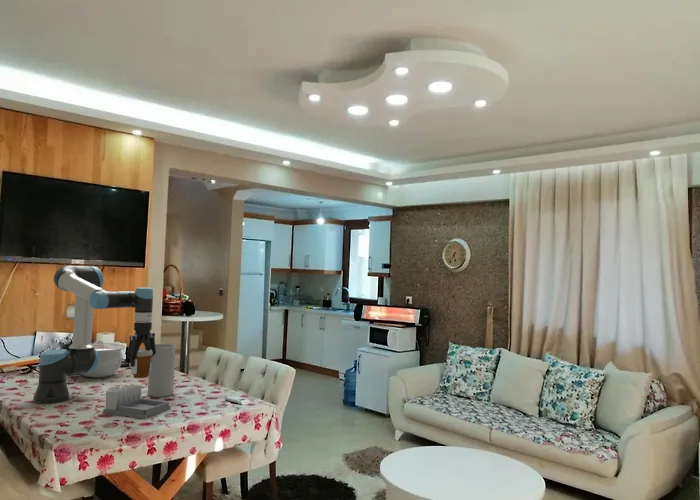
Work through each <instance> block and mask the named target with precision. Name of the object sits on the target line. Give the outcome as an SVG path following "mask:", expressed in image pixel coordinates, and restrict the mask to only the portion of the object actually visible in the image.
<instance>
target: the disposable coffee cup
mask: <svg viewBox="0 0 700 500" xmlns="http://www.w3.org/2000/svg"><path fill="white" fill-rule="evenodd" d="M152 354H153V352H152V350H146V349H145V348H139V351H138V352H137V356H136V359H137V374H132V376H133V378H134V379H146V378H148V375H149V369H150V363H151V357H152ZM133 356H134V355H133Z"/></svg>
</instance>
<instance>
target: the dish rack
mask: <svg viewBox="0 0 700 500" xmlns="http://www.w3.org/2000/svg"><path fill="white" fill-rule="evenodd" d="M142 387H143V386H142V385H141V384H133V383H130V384H129V385H127V384H126V385H125V386H121V387H116V389H115V388H111V390H109V389H108V390H105V406H104V408H103V410H102V413H104V414H111V415H116V416H121V415H122V417H129V418H135V419H140V418H141V420H143V419H146V417H147V418H149V416H150V417H152V416H155V415H157V414H161V413H163V412H166V411H169V410H171V405H169V404H170V402H169V401H162V400H156V399H147V398H142Z"/></svg>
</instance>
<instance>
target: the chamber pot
mask: <svg viewBox="0 0 700 500" xmlns="http://www.w3.org/2000/svg"><path fill="white" fill-rule="evenodd" d="M92 344H93V345H94V349H95V350H97V351H98V355H99V362H98V365H97V367H96V368H95V369H94V370H93V371H92V372H88V373H85V374H82V375H83V376H84V377H87V378H90V377H91V378H92V379H94V378H95V379H98V378H99V379H100V378H108V377H110V376H113V375H115V373H116V374H117V372H118V370H119V369H120V368H121V365H122V361H123V353H122V350H124V349H125V348H126V346H125V345H123V344H119V343H111V342H103V340H98V341H97V342H95V343H93V342H92Z"/></svg>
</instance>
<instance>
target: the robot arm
mask: <svg viewBox="0 0 700 500" xmlns="http://www.w3.org/2000/svg"><path fill="white" fill-rule="evenodd" d="M52 279H53V284H54V285H55V286H56V287H57V288H58V289H60V290H62V291H64V292H70V293H72V294H73V295H74V310H73V311H74V313H73V327H72V329H73V330H72V343H71V344H70V345H69V346H68V350H67V349H64V348H57V349H52V350H46V351H44V352H43V353H41V355H40V356H39V362H38V364H39V365H38V366H39V367H38V384H37V386H36V387H37V388H36V390H35V393H34V395H33V399H32V401H33V402H34V403H36V404H55V403H62V402H65V401H68V400H69V399H70V392H69V389H68V385H67V376H75V375H83V374H85V373H88V372H92V371H93V370H94V369H95V368H96V367H97V365H98V362H99V355H98V351H97V350H95V349H94V345H93V342H92V338H93V322H94V309H95V310H102V309H103V310H104V309H105V310H106V309H124V308H125V309H126V308H127V309H128V308H131V309H133V308H134V315H133V316H134V317H133V318H134V319H133V321H134V323H133V330H134V331H135V333H134V334H133V335H129V343H128V347H127V354H126V358H127V359H129V360H130V364H129V366H130V374H132V375H133V374H137V359H136V356H137V352H138V351H139V349H141V348H140V347H141V345H143V346H144V349H146V350H152V352H153V354H152V356H154V354H156V348H155V344H156V337H155V336H156V334H155V332H151V331H152V329H153V328H152V327H153V324H152V322H153V304H154V303H153V302H154V300H153V299H154V290H153V288H152V287H137V288H135V291H133V290H132V291H131V290H123V291H121V290H119V291H117V290H116V291H109V290H108V291H107V290H106V289H103V288H102V287H103V285H104V280H105V279H104V275H103V272H102V270H101V269H100V268H99V267H97V266H93V265H63V266H62V267H60V268H58V269H57V270H56V271H55V273H54V274H53V277H52ZM133 355H134V356H133ZM151 363H152V357H151ZM151 363H150V369H149V371H151Z"/></svg>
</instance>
